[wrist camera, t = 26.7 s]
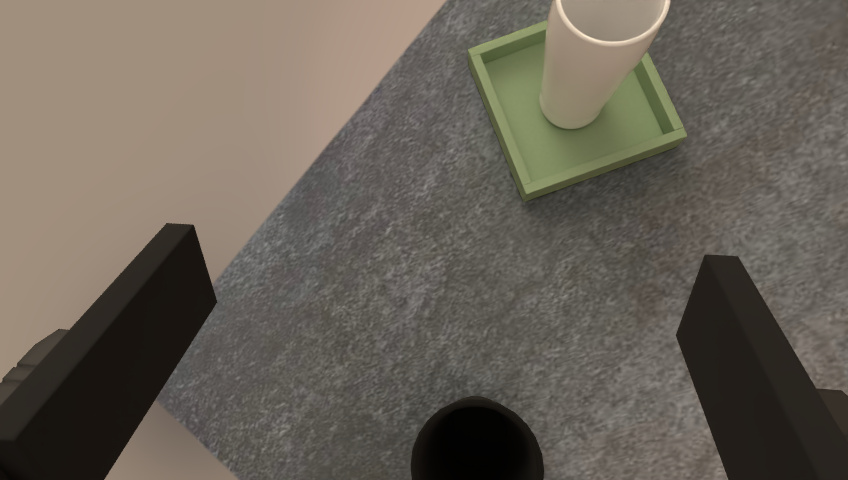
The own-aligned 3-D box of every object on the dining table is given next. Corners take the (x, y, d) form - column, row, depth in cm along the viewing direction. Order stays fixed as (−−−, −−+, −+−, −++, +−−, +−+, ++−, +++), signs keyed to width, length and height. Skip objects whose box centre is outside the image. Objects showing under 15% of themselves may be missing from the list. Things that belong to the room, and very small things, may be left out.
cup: (519, 491, 42) (536, 552, 30) (421, 474, 43) (402, 527, 31) (529, 390, 43) (550, 410, 32) (435, 375, 44) (420, 390, 32)
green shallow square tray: (467, 64, 49) (467, 49, 46) (612, 10, 48) (619, -8, 46) (523, 202, 46) (526, 194, 43) (676, 147, 46) (688, 135, 43)
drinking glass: (626, 93, 46) (696, -21, 32) (579, 155, 46) (628, 68, 31) (560, 51, 47) (598, -78, 33) (513, 110, 47) (531, 7, 32)
